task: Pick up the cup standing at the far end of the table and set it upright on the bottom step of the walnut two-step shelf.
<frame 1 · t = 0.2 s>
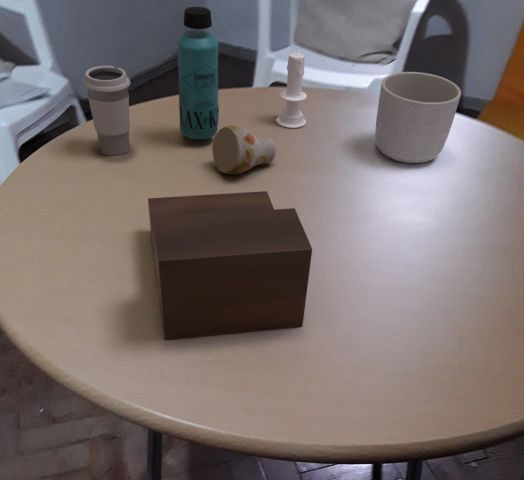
step shelf: (220, 274, 80), on the table
candle: (291, 122, 112), on the table
cup: (115, 149, 102), on the table
beverage bottle: (199, 140, 106), on the table
planter: (406, 153, 106), on the table
floral vase: (245, 167, 100), on the table
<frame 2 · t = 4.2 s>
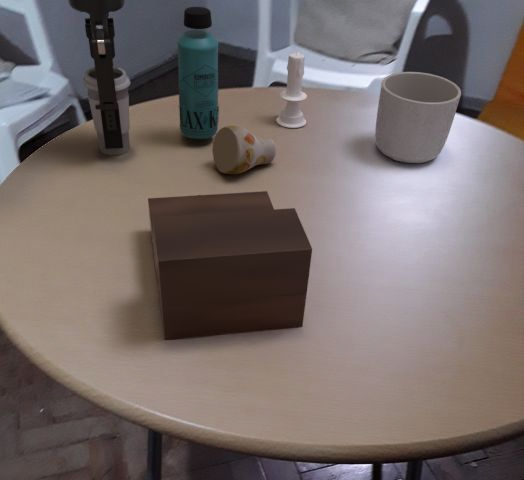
hand: (113, 138, 100), 2 cm above the table, tool pointing down, fingers closed on cup, 5 cm apart
cup: (115, 149, 102), on the table, touching gripper
everything else where it was.
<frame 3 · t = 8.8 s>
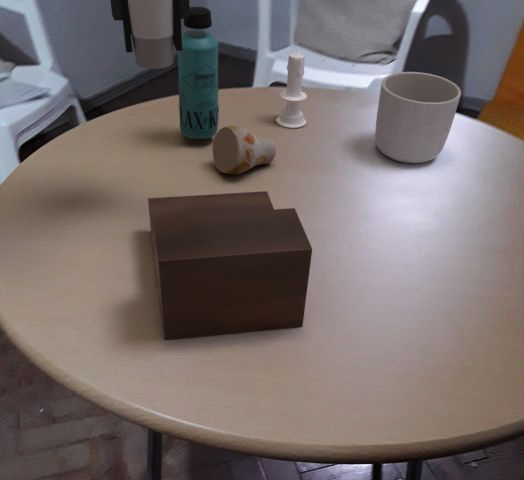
hand: (153, 47, 77), 21 cm above the table, tool pointing down, fingers closed on cup, 5 cm apart
cup: (154, 63, 78), point 19 cm above the table, touching gripper
everything else where it was.
when the fingers open (7 cm above the table, at t = 13.4 s): cup stays where it is, resting on step shelf.
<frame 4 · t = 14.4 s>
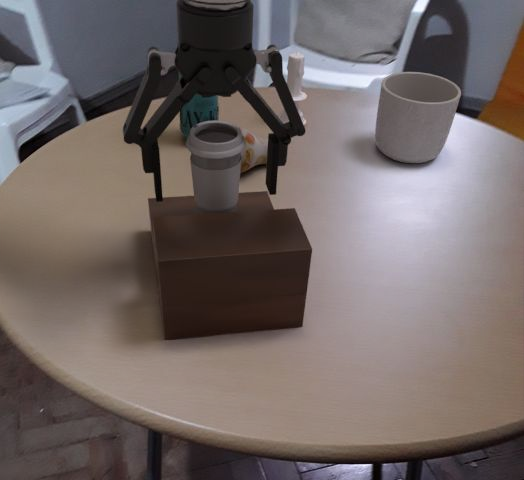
hand: (215, 192, 76), 9 cm above the table, tool pointing down, fingers open, 13 cm apart
cup: (216, 224, 79), point 5 cm above the table, touching step shelf
everything else where it was.
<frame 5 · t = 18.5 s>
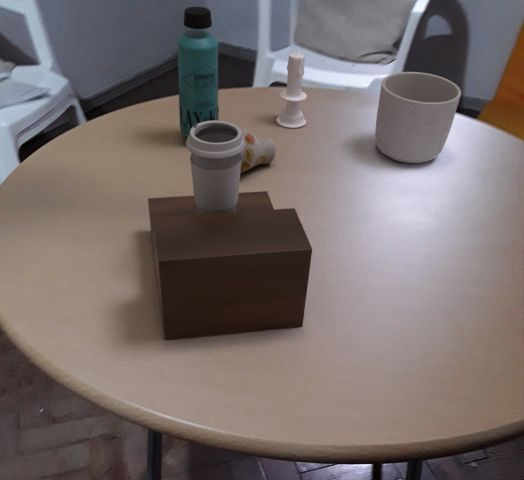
nothing on the table moved.
at the end: cup inside the target area on the step shelf (0.0 cm from its centre), point 4.8 cm above the step shelf's base; cup tilted 0°; the gripper is holding nothing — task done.
